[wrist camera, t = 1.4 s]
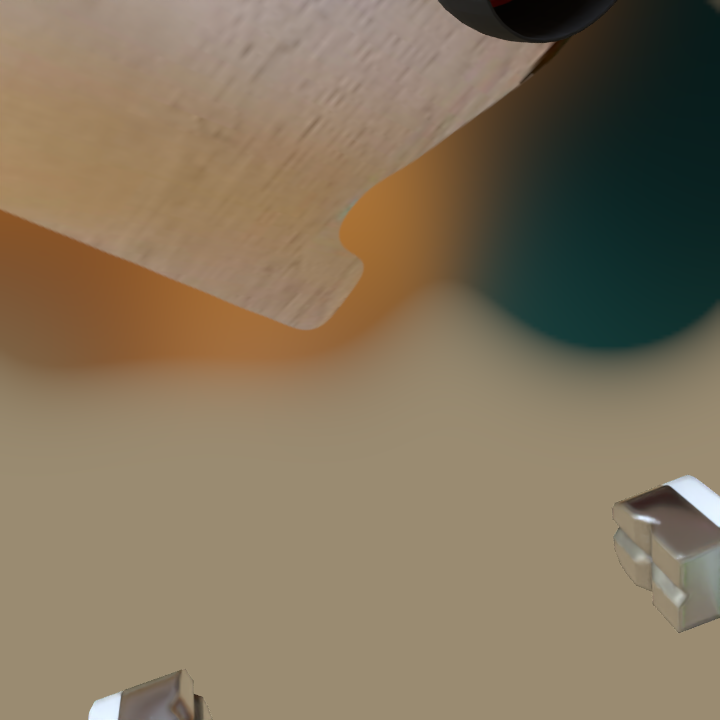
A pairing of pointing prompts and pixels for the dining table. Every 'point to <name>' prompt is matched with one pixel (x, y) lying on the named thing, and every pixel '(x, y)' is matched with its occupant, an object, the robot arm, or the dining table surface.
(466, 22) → the wine glass
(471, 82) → the dining table surface
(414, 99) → the dining table surface
